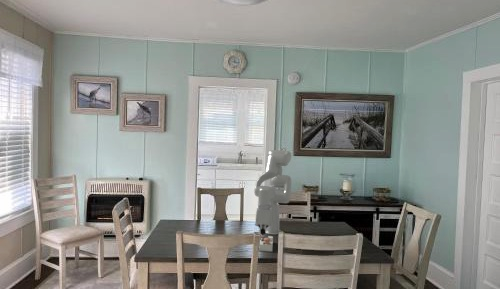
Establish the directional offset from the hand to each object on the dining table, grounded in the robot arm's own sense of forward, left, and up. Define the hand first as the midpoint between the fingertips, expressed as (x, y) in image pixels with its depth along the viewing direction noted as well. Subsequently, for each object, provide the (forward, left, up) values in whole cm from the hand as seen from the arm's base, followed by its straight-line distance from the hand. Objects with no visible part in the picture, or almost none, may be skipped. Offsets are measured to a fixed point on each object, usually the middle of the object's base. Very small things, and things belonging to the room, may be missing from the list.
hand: (262, 234), depth 250 cm
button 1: (0, 0, -3) cm, 3 cm away
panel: (+6, +2, -6) cm, 9 cm away
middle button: (+6, +2, -2) cm, 7 cm away
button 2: (+13, +3, -2) cm, 13 cm away
